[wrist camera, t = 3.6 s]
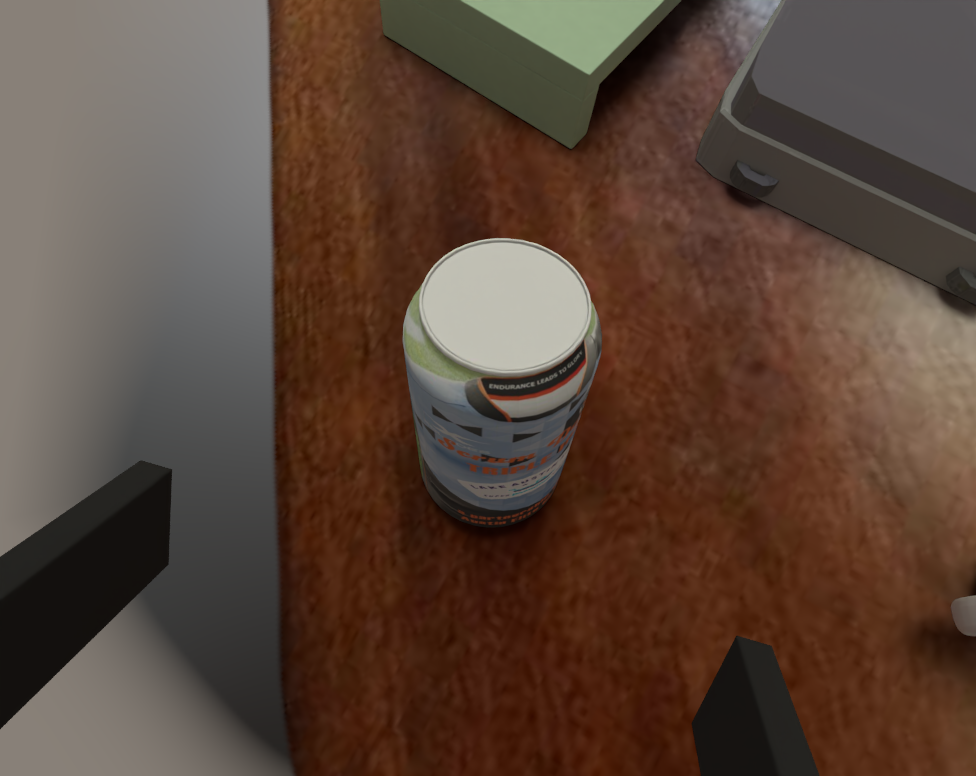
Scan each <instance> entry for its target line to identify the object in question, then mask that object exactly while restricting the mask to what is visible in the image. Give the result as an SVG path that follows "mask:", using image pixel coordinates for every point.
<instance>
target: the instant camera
mask: <svg viewBox="0 0 976 776" xmlns="http://www.w3.org/2000/svg"><path fill="white" fill-rule="evenodd" d="M696 161H697V162H699V163H700V164H701V165H702V166H703V167H704V168H705V169H706V170H707V171H708V172H709V173H710V174H711V175H712V176H713V177H715V178H717V179H719V180H721V181H723V182H725V183H727V184H729V185H731V186H733V187H735V188H737V189H739V190H741V191H743V192H745V193H748V194H750V195H752V196H754V197H756V198H758V199H760V200H762V201H764V202H766V203H768V204H770V205H772V206H774V207H776V208H778V209H780V210H782V211H784V212H786V213H788V214H791V215H793V216H795V217H797V218H799V219H801V220H803V221H805V222H807V223H809V224H811V225H813V226H815V227H817V228H819V229H821V230H823V231H825V232H827V233H829V234H831V235H834V236H836V237H838V238H840V239H842V240H844V241H846V242H848V243H850V244H852V245H854V246H856V247H858V248H860V249H862V250H864V251H866V252H868V253H870V254H872V255H874V256H876V257H879V258H881V259H883V260H885V261H887V262H889V263H891V264H893V265H895V266H897V267H899V268H901V269H903V270H905V271H907V272H909V273H911V274H913V275H915V276H917V277H919V278H922V279H924V280H926V281H928V282H930V283H932V284H934V285H936V286H938V287H940V288H942V289H944V290H946V291H948V292H950V293H952V294H954V295H956V296H958V297H960V298H962V299H965V300H967V301H969V302H971V303H973V304H975V305H976V0H782V1H781V2H780V4H779V5H778V7H777V9H776V10H775V12H774V13H773V15H772V17H771V18H770V20H769V21H768V23H767V25H766V26H765V28H764V29H763V31H762V33H761V34H760V36H759V37H758V39H757V41H756V42H755V44H754V45H753V47H752V49H751V50H750V52H749V53H748V55H747V57H746V58H745V60H744V62H743V63H742V65H741V66H740V68H739V70H738V71H737V73H736V74H735V76H734V78H733V79H732V81H731V82H730V84H729V86H728V87H727V89H726V91H725V93H724V95H723V97H722V99H721V101H720V103H719V105H718V107H717V109H716V111H715V113H714V115H713V117H712V119H711V121H710V123H709V125H708V127H707V129H706V131H705V133H704V135H703V137H702V139H701V143H700V146H699V150H698V153H697V157H696Z"/></svg>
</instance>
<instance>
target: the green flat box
mask: <svg viewBox="0 0 976 776" xmlns="http://www.w3.org/2000/svg"><path fill="white" fill-rule="evenodd" d="M680 1H681V0H380V6H381V15H382V24H383V33H384V35H385V36H387V37H389V38H390V39H392V40H394V41H395V42H397V43H399V44H400V45H402V46H403V47H405V48H407V49H408V50H410V51H412V52H413V53H415V54H416V55H418V56H420V57H421V58H423V59H425V60H426V61H428V62H430V63H431V64H433V65H434V66H436V67H438V68H439V69H441V70H443V71H444V72H446V73H447V74H449V75H451V76H452V77H454V78H456V79H457V80H459V81H460V82H462V83H464V84H465V85H467V86H469V87H470V88H472V89H474V90H475V91H477V92H478V93H480V94H482V95H483V96H485V97H487V98H488V99H490V100H491V101H493V102H495V103H496V104H498V105H500V106H501V107H503V108H505V109H506V110H508V111H509V112H511V113H513V114H514V115H516V116H518V117H519V118H521V119H522V120H524V121H526V122H527V123H529V124H531V125H532V126H534V127H536V128H537V129H539V130H540V131H542V132H544V133H545V134H547V135H549V136H550V137H552V138H553V139H555V140H557V141H558V142H560V143H562V144H563V145H565V146H567V147H568V148H570V149H572V148H573V147H574V146H575V145H576V144H577V143H578V142H579V141H580V140H581V139H582V138H583V137H584V136H585V135H586V133H587V130H588V126H589V122H590V118H591V115H592V111H593V107H594V103H595V100H596V96H597V92H598V88H599V84H600V83H601V82H602V81H603V80H604V79H605V78H606V77H607V76H608V75H609V74H610V73H611V72H612V71H613V70H614V69H615V68H616V67H617V66H618V65H619V64H620V63H621V62H622V61H623V60H624V59H625V58H626V57H627V56H628V55H629V53H630V52H631V51H632V50H633V49H634V48H635V47H636V46H637V45H638V44H639V43H640V42H641V41H642V40H643V39H644V38H645V37H646V36H647V35H648V34H649V33H650V32H651V31H652V30H653V29H654V28H655V27H656V26H657V25H658V24H659V23H660V22H661V21H662V20H663V19H664V18H665V17H666V16H667V15H668V14H669V13H670V12H671V11H672V10H673V9H674V8H675V7H676V6H677V5H678V4H679V3H680Z"/></svg>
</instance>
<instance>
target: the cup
mask: <svg viewBox="0 0 976 776" xmlns="http://www.w3.org/2000/svg"><path fill="white" fill-rule="evenodd" d="M951 611H952V616H953V620H954V622H955V625H956V627H957V628H958V630H959V631H960V632H961V633H963V634H965V635H968V636H976V595H974V596H968V597H963V598H958V599H955V600H954V601H953V602H952V605H951Z"/></svg>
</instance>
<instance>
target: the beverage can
mask: <svg viewBox="0 0 976 776" xmlns="http://www.w3.org/2000/svg"><path fill="white" fill-rule="evenodd" d="M403 346H404V353H405V361H406V368H407V375H408V382H409V389H410V397H411V404H412V411H413V418H414V425H415V432H416V440H417V447H418V454H419V461H420V468H421V473H422V479H423V481H424V484H425V486H426V489H427V491H428V492H429V494H430V495H431V497H432V498H433V500H434V501H435V502H436V503H437V504H438V505H439V506H440V508H441V509H443V510H444V511H445V512H447V513H448V514H449V515H451V516H452V517H454V518H456V519H458V520H460V521H462V522H465V523H468V524H471V525H474V526H480V527H503V526H508V525H513V524H516V523H518V522H521V521H523V520H525V519H527V518H529V517H530V516H532V515H533V514H535V513H536V512H537V511H539V510H540V509H541V508H542V507H543V506H544V505H545V504H546V502H547V501H548V500H549V498H550V497H551V496H552V494H553V492H554V490H555V488H556V486H557V483H558V480H559V477H560V474H561V471H562V468H563V465H564V463H565V460H566V457H567V454H568V451H569V448H570V445H571V442H572V439H573V436H574V433H575V430H576V427H577V424H578V421H579V419H580V416H581V413H582V410H583V407H584V404H585V401H586V398H587V395H588V392H589V389H590V386H591V383H592V380H593V377H594V375H595V372H596V369H597V366H598V362H599V358H600V354H601V346H602V333H601V327H600V322H599V318H598V315H597V313H596V310H595V308H594V305H593V303H592V301H591V299H590V294H589V291H588V289H587V286H586V284H585V282H584V280H583V279H582V277H581V276H580V274H579V273H578V271H577V270H576V269H575V268H574V267H573V266H572V265H571V264H570V263H569V262H568V261H566V260H565V259H564V258H563V257H561V256H560V255H558V254H557V253H555V252H553V251H551V250H550V249H548V248H545V247H543V246H540V245H538V244H535V243H531V242H527V241H523V240H517V239H509V238H493V239H486V240H479V241H476V242H472V243H469V244H466V245H463V246H461V247H459V248H457V249H454V250H453V251H451V252H450V253H448V254H447V255H445V256H444V257H443V258H441V259H440V260H439V261H438V262H437V263H436V264H435V265H434V266H433V267H432V269H431V270H430V271H429V273H428V274H427V276H426V278H425V280H424V282H423V284H422V286H421V287H420V288H419V290H418V291H417V292H416V294H415V295H414V297H413V299H412V301H411V303H410V305H409V307H408V309H407V313H406V317H405V321H404V325H403Z"/></svg>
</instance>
